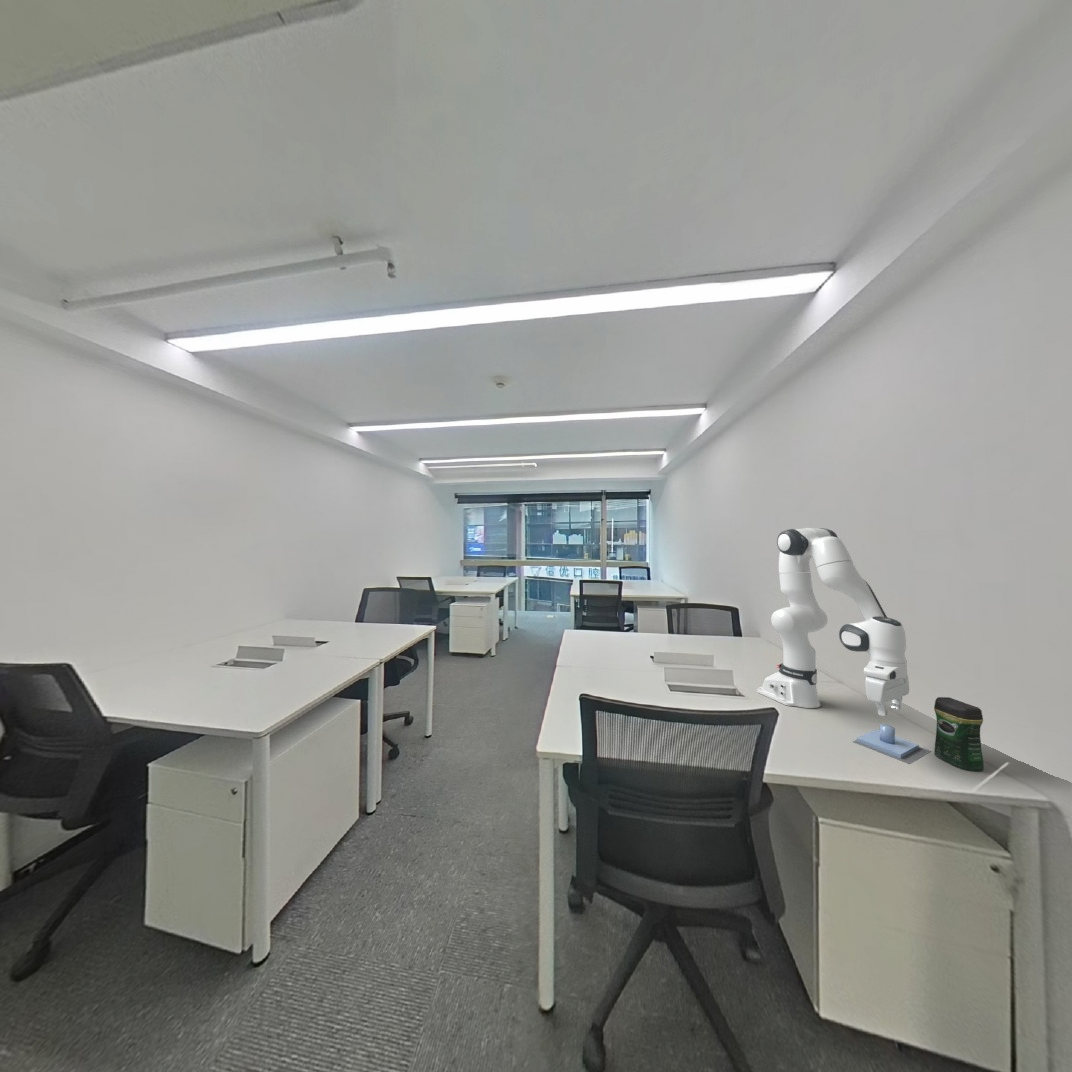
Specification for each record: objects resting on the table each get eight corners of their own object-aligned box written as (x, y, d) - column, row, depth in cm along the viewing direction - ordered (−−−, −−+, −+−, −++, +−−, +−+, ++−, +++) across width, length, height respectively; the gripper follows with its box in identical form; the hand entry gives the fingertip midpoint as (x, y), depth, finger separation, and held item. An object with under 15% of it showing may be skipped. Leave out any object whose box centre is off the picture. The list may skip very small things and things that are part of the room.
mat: (852, 743, 125) (852, 741, 125) (875, 732, 132) (875, 731, 132) (909, 765, 113) (909, 764, 113) (931, 752, 120) (931, 751, 120)
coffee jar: (990, 773, 110) (990, 707, 110) (964, 773, 109) (964, 708, 109) (952, 754, 119) (952, 694, 119) (928, 754, 119) (928, 694, 119)
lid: (856, 741, 125) (856, 723, 125) (875, 732, 131) (875, 715, 131) (900, 758, 116) (900, 739, 116) (918, 748, 121) (918, 729, 122)
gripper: (890, 661, 131) (891, 703, 130) (860, 670, 122) (861, 714, 121) (915, 666, 125) (916, 709, 125) (885, 676, 116) (887, 722, 115)
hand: (889, 712), depth 123 cm, fingers open, 8 cm apart
